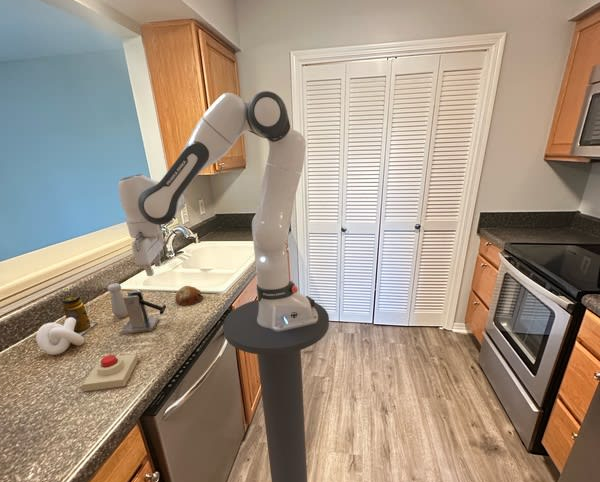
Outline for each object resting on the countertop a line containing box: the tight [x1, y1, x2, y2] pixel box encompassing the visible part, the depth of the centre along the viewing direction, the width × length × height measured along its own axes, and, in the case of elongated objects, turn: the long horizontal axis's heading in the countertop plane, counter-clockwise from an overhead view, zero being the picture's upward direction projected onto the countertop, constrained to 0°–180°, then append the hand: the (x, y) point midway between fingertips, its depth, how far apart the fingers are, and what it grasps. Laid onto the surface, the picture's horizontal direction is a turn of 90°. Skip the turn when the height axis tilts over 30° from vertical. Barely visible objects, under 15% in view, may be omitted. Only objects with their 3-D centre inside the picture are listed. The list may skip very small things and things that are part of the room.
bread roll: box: [175, 285, 204, 306], centre depth 133 cm, size 10×10×8 cm
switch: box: [130, 294, 167, 315], centre depth 112 cm, size 12×5×2 cm, turn 99°
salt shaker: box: [106, 282, 129, 319], centre depth 121 cm, size 6×6×13 cm
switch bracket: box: [121, 290, 159, 335], centre depth 113 cm, size 10×8×13 cm
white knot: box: [35, 317, 85, 356], centre depth 103 cm, size 11×12×9 cm
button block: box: [81, 353, 139, 392], centre depth 90 cm, size 10×12×4 cm
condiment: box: [61, 295, 97, 336], centre depth 113 cm, size 7×8×12 cm
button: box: [100, 354, 117, 368], centre depth 89 cm, size 4×4×2 cm
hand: (154, 270), depth 108 cm, fingers open, 8 cm apart
